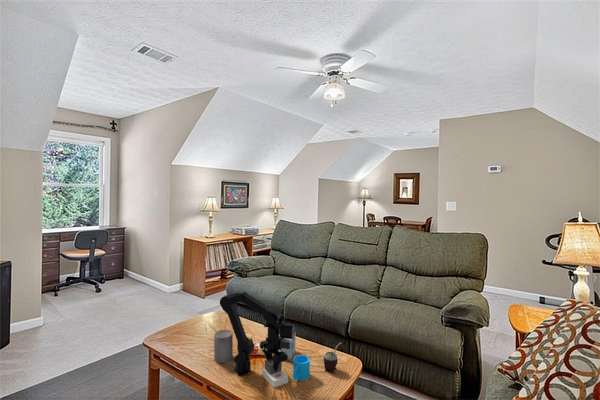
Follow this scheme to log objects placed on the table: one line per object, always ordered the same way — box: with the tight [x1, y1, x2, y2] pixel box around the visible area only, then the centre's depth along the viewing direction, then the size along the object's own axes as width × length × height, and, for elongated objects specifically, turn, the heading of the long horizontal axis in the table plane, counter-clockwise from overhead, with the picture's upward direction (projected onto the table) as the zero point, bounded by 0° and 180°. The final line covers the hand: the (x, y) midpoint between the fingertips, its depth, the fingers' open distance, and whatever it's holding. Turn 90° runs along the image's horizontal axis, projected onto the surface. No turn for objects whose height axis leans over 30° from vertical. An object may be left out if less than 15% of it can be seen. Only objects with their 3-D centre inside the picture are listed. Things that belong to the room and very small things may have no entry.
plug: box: [264, 359, 283, 374], centre depth 153 cm, size 6×6×7 cm
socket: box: [261, 367, 289, 389], centre depth 151 cm, size 8×12×4 cm, turn 33°
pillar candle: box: [213, 329, 234, 364], centre depth 169 cm, size 10×10×15 cm
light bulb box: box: [279, 331, 297, 360], centre depth 175 cm, size 11×7×11 cm, turn 168°
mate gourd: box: [323, 342, 343, 374], centre depth 160 cm, size 8×8×15 cm
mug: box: [292, 354, 311, 381], centre depth 152 cm, size 12×8×8 cm
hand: (272, 368), depth 153 cm, fingers closed on plug, 6 cm apart
